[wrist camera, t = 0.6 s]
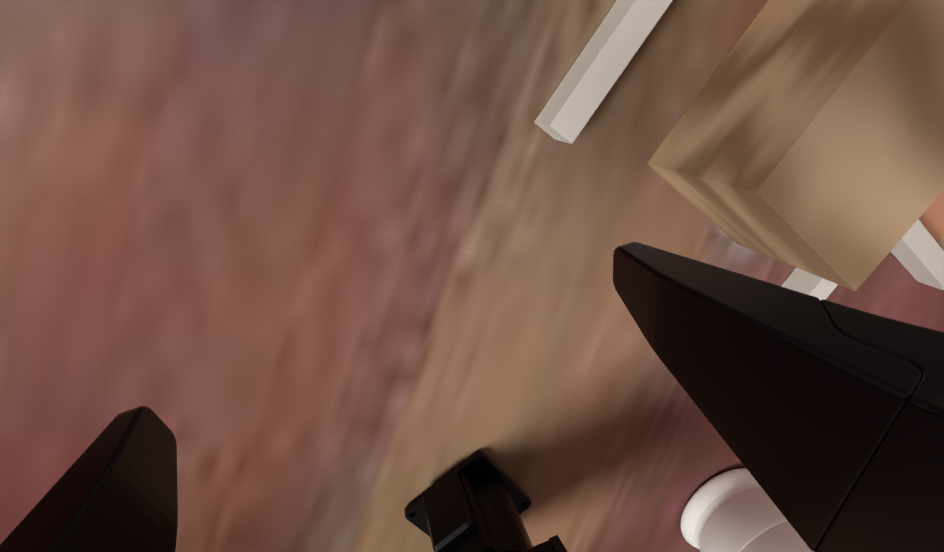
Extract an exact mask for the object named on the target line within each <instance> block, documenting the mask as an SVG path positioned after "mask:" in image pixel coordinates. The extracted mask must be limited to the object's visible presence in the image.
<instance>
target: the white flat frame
mask: <svg viewBox="0 0 944 552" xmlns="http://www.w3.org/2000/svg"><path fill="white" fill-rule="evenodd" d="M672 1H673V0H617V1H616V2H615V4H614V5H613V7H612V8H611V10H610V11H609V12H608V14H607V15H606V17H605V18H604V20H603V21H602V23H601V24H600V26H599V27H598V29H597V30H596V32H595V33H594V35H593V36H592V38H591V39H590V40H589V42H588V43H587V45H586V46H585V48H584V49H583V51H582V52H581V54H580V55H579V57H578V58H577V60H576V61H575V63H574V64H573V65H572V67H571V68H570V70H569V71H568V73H567V74H566V76H565V77H564V79H563V80H562V82H561V83H560V85H559V86H558V88H557V89H556V90H555V92H554V93H553V95H552V96H551V98H550V99H549V101H548V102H547V104H546V105H545V107H544V108H543V110H542V111H541V113H540V114H539V116H538V117H537V118H536V120H535V121H534V123H535V124H537V125H538V126H539V127H540V128H541V129H543V130H544V131H545V132H546V133H548V134H549V135H550V136H551V137H553V138H554V139H555V140H559V141H562V142H566V143H570V144H572V143H573V142H574V140H575V139H576V138H577V136H578V135H579V133H580V132H581V130H582V129H583V128H584V126H585V125H586V123H587V122H588V120H589V119H590V118H591V116H592V115H593V113H594V112H595V110H596V109H597V108H598V106H599V105H600V103H601V102H602V100H603V99H604V98H605V96H606V95H607V93H608V92H609V90H610V89H611V88H612V86H613V85H614V83H615V82H616V80H617V79H618V78H619V76H620V75H621V73H622V72H623V70H624V69H625V68H626V66H627V65H628V63H629V62H630V60H631V59H632V58H633V56H634V55H635V53H636V52H637V50H638V49H639V48H640V46H641V45H642V43H643V42H644V41H645V39H646V38H647V36H648V35H649V33H650V32H651V31H652V29H653V28H654V26H655V25H656V23H657V22H658V21H659V19H660V18H661V16H662V15H663V13H664V12H665V11H666V9H667V8H668V6H669V5H670V3H671V2H672ZM891 253H892V254H893V255H894V256H895V257H896V258H897V259H898V260H899V262H900V263H901V264H902V265H903V266H904V267H905V268H906V269H907V270H908V272H909V273H910V274H911V275H912V276H913V277H914V278H915V279H916V281H918V282H921V283H924V284H926V285H929V286H932V287H935V288H938V289H941V290H944V190H943V191H942V192H941V194H940V195H939V196H938V197H937V198H936V199H935V200H934V202H933V203H932V204H931V205H930V206H929V207H928V208H927V210H926V211H925V212H924V213H923V214H922V215H921V217H920V218H919V219H918V220H917V221H916V222H915V223H914V225H913V226H912V227H911V228H910V229H909V230H908V231H907V233H906V234H905V235H904V236H903V237H902V238H901V239H900V241H899V242H898V243H897V244H896V245H895V246H894V247H893V249H892V250H891ZM837 285H838V284H836V283H833V282H831V281H828V280H826V279H823V278H821V277H819V276H816V275H814V274H811V273H809V272H806V271H804V270H801V269H799V268H796V269H795V270H794V271H793V272H792V273H791V275H790V276H789V277H788V278H787V279H786V281H785V282H784V283H783V284H782V285H781V287H785V288H788V289H791V290H794V291H798V292H801V293H804V294H807V295H811V296H814V297H817V298H819V300H822V299H824V300H825V299H826V298H827V297H828V296H829V295H830V293H831V292H832V291H833V290H834V289H835V288H836V286H837Z"/></svg>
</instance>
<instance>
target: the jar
mask: <svg viewBox="0 0 944 552" xmlns="http://www.w3.org/2000/svg"><path fill="white" fill-rule="evenodd" d="M681 532H682V534H683V536H684V538H685V539H686V541H687V542H688V543H690V544H691V545H692V546H694V547H696V548H698V549H700V552H814V551H811V550H810V548H809V547H808V546H807V545H806V543H805V542H804V541H803V539H802V538H801V537H800V536H799V534H798V533H797V532H796V531H795V529H794V528H793V527H792V526H791V524H790V523H789V522H788V520H787V519H786V518H785V517H784V515H783V514H782V513H781V512H780V510H779V509H778V508H777V507H776V505H775V504H774V503H773V501H772V500H771V499H770V498H769V496H768V495H767V494H766V493H765V491H764V490H763V489H762V487H761V486H760V485H759V484H758V482H757V481H756V480H755V479H754V477H753V476H752V475H751V474H750V472H749V471H748V470H747V469H745V468H742V469H734V470H730V471H727V472H724V473H722V474H720V475H717V476H716V477H714V478H712V479H711V480H709V481H708V482H706V483H705V484H704V485H703V486H701V487H700V488H699V489H698V490H697V491H696V492H695V493H694V495H693V496H692V497H691V498H690V500H689V501H688V503H687V505H686V507H685V508H684V511H683V514H682V517H681Z"/></svg>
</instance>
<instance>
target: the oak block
mask: <svg viewBox="0 0 944 552" xmlns="http://www.w3.org/2000/svg"><path fill="white" fill-rule="evenodd" d="M647 164H648V165H649V166H650V167H651V168H653V169H654V170H655V171H656V172H657V173H658V174H659V175H660V176H662V177H663V178H664V179H665V180H666V181H667V182H668V183H669V184H671V185H672V186H673V187H674V188H675V189H676V190H677V191H678V192H680V193H681V194H682V195H683V196H684V197H685V198H686V199H687V200H689V201H690V202H691V203H692V204H693V205H694V206H695V207H696V208H698V209H699V210H700V211H701V212H702V213H703V214H704V215H705V216H707V217H708V218H709V219H710V220H711V221H712V222H713V223H714V224H716V225H717V226H718V227H719V228H720V229H721V230H722V231H723V232H725V233H726V234H727V235H728V236H729V237H730V238H731V239H732V240H734V241H735V242H736V243H737V244H740V245H742V246H745V247H747V248H749V249H752V250H754V251H757V252H759V253H762V254H764V255H767V256H769V257H772V258H774V259H777V260H779V261H782V262H784V263H786V264H789V265H791V266H794V267H796V268H799V269H801V270H804V271H806V272H809V273H811V274H814V275H816V276H819V277H821V278H823V279H826V280H828V281H831V282H833V283H836V284H838V285H841V286H843V287H846V288H848V289H851V290H853V291H856V290H857V289H858V288H859V287H860V285H861V284H862V283H863V282H864V281H865V280H866V278H867V277H868V276H869V275H870V274H871V273H872V272H873V270H874V269H875V268H876V267H877V266H878V265H879V264H880V262H881V261H882V260H883V259H884V258H885V257H886V256H887V254H888V253H889V252H890V251H891V250H892V249H893V247H894V246H895V245H896V244H897V243H898V242H899V241H900V239H901V238H902V237H903V236H904V235H905V234H906V233H907V231H908V230H909V229H910V228H911V227H912V226H913V225H914V223H915V222H916V221H917V220H918V219H919V218H920V217H921V215H922V214H923V213H924V212H925V211H926V210H927V208H928V207H929V206H930V205H931V204H932V203H933V202H934V200H935V199H936V198H937V197H938V196H939V195H940V194H941V192H942V191H943V190H944V0H768V1H767V3H766V4H765V5H764V7H763V8H762V9H761V11H760V12H759V13H758V15H757V16H756V17H755V19H754V20H753V22H752V23H751V24H750V26H749V27H748V28H747V30H746V31H745V32H744V34H743V35H742V36H741V38H740V39H739V40H738V42H737V43H736V44H735V46H734V47H733V48H732V50H731V51H730V52H729V54H728V55H727V56H726V58H725V59H724V60H723V62H722V63H721V65H720V66H719V67H718V69H717V70H716V71H715V73H714V74H713V75H712V77H711V78H710V79H709V81H708V82H707V83H706V85H705V86H704V87H703V89H702V90H701V91H700V93H699V94H698V95H697V97H696V98H695V99H694V101H693V102H692V103H691V105H690V106H689V107H688V109H687V110H686V112H685V113H684V114H683V116H682V117H681V118H680V120H679V121H678V122H677V124H676V125H675V126H674V128H673V129H672V130H671V132H670V133H669V134H668V136H667V137H666V138H665V140H664V141H663V142H662V144H661V145H660V146H659V148H658V149H657V150H656V152H655V153H654V154H653V156H652V157H651V159H650V160H649V161H648V163H647Z"/></svg>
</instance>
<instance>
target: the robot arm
mask: <svg viewBox="0 0 944 552" xmlns="http://www.w3.org/2000/svg"><path fill="white" fill-rule="evenodd" d="M613 283H614V286H615V289H616V291H617V293H618V294H619V296H620V298H621V299H622V301H623V302H624V304H625V306H626V307H627V309H628V311H629V312H630V314H631V315H632V317H633V319H634V320H635V322H636V323H637V325H638V327H639V328H640V330H641V332H642V333H643V335H644V336H645V338H646V340H647V341H648V343H649V344H650V346H651V347H652V349H653V350H654V351H655V353H656V354H657V355H658V357H659V358H660V359H661V361H662V362H663V363H664V364H665V366H666V367H667V368H668V370H669V371H670V372H671V373H672V375H673V376H674V377H675V378H676V380H677V381H678V382H679V383H680V385H681V386H682V387H683V389H684V390H685V391H686V392H687V394H688V395H689V396H690V397H691V399H692V400H693V401H694V403H695V404H696V405H697V406H698V408H699V409H700V410H701V411H702V413H703V414H704V415H705V416H706V418H707V419H708V420H709V422H710V423H711V424H712V425H713V427H714V428H715V429H716V430H717V432H718V433H719V434H720V435H721V437H722V438H723V439H724V441H725V442H726V443H727V444H728V446H729V447H730V448H731V449H732V451H733V452H734V453H735V455H736V456H737V457H738V458H739V460H740V461H741V462H742V463H743V465H744V466H745V467H746V468H747V470H748V471H749V472H750V474H751V475H752V476H753V477H754V479H755V480H756V481H757V482H758V484H759V485H760V486H761V487H762V489H763V490H764V491H765V493H766V494H767V495H768V496H769V498H770V499H771V500H772V501H773V503H774V504H775V505H776V507H777V508H778V509H779V510H780V512H781V513H782V514H783V515H784V517H785V518H786V519H787V520H788V522H789V523H790V524H791V526H792V527H793V528H794V529H795V531H796V532H797V533H798V534H799V536H800V537H801V538H802V539H803V541H804V542H805V543H806V545H807V546H808V547H809V548H810V550H811V551H814V552H944V332H940V331H936V330H932V329H928V328H924V327H920V326H916V325H912V324H909V323H905V322H901V321H897V320H893V319H889V318H885V317H881V316H878V315H874V314H871V313H868V312H864V311H861V310H857V309H854V308H850V307H847V306H844V305H840V304H837V303H834V302H831V301H827V300H824V299H822V300H819V298H817V297H814V296H811V295H807V294H804V293H801V292H798V291H794V290H791V289H788V288H785V287H781V286H778V285H775V284H771V283H768V282H765V281H762V280H758V279H755V278H752V277H749V276H745V275H742V274H739V273H735V272H732V271H729V270H726V269H722V268H719V267H716V266H713V265H709V264H706V263H703V262H700V261H696V260H693V259H690V258H686V257H683V256H680V255H677V254H673V253H670V252H667V251H664V250H660V249H657V248H654V247H651V246H647V245H644V244H641V243H637V242H631V243H628V244H625V245H622V246H619V247H617V248H616V249H615V251H614V255H613ZM479 459H481V460H480V461H477V460H479ZM530 505H531V501H530V498H529V496H528V495H527V494H526V493H525V492H524V491H523V490H522V489H521V488H520V487H519V486H518V485H517V484H515V483H514V482H513V481H512V480H511V479H510V478H509V477H508V476H507V475H506V474H505V473H504V472H503V471H502V470H501V469H500V468H499V467H498V466H497V465H496V464H495V463H494V462H493V461H491V460H490V459H489V458H488V457H487V456H486V455H485V454H484V453H482V452H477V453H475V454H473V455H472V456H471V457H469V458H468V459H467V460H465V461H464V462H463V463H462V464H460V465H459V466H458V467H456V468H455V469H454V470H453V471H451V472H450V473H449V474H447V475H446V476H445V477H444V478H442V479H441V480H440V481H438V482H437V483H436V484H435V485H433V486H432V487H431V488H430V489H428V490H427V491H426V492H424V493H423V494H422V495H421V496H419V497H418V498H417V499H415V500H414V501H413V502H412V503H410V504H409V505H408V506H407V507H406V508H405V510H404V511H405V517H406V519H407V520H409V521H410V522H411V523H413V524H414V525H415V526H417V527H418V528H419V529H421V530H422V531H423V532H425V533H426V534H427V535H429V536H430V537H431V541H432V546H433V550H434V552H567V550H566V549H565V547H564V545H563V544H562V542H561V540H560V539H559V537H558V535H556V536H553V537H551V538H549V540H548V541H546V542H544V543H541V544H539V545H536V546H534V547H533V546H532V543H531V541H530V538H529V536H528V534H527V531H526V529H525V527H524V524H523V522H522V520H521V517H520V515H519V514H521V513H522V512H523V511H524V510H526V509H527V508H528V507H529V506H530ZM413 511H414V512H413ZM411 512H412V513H411ZM177 523H178V501H177V446H176V439H175V436H174V434H173V433H172V431H171V430H170V429H169V428H168V427H167V426H166V425H165V424H164V422H163V421H162V420H161V419H160V418H159V417H158V416H157V415H156V414H155V413H154V412H153V411H152V410H151V409H150V408H148V407H146V406H141V407H137V408H134V409H131V410H128V411H125V412H123V413H120V414H119V415H117V416H116V417H115V418H114V419H113V421H112V422H111V423H110V424H109V425H108V426H107V427H106V428H105V429H104V431H103V432H102V433H101V434H100V435H99V436H98V437H97V438H96V439H95V440H94V442H93V443H92V444H91V445H90V446H89V447H88V448H87V449H86V450H85V452H84V453H83V454H82V455H81V456H80V457H79V458H78V459H77V460H76V461H75V463H74V464H73V465H72V466H71V467H70V468H69V469H68V470H67V471H66V473H65V474H64V475H63V476H62V477H61V478H60V479H59V480H58V481H57V482H56V484H55V485H54V486H53V487H52V488H51V489H50V490H49V491H48V492H47V494H46V495H45V496H44V497H43V498H42V499H41V500H40V501H39V502H38V503H37V505H36V506H35V507H34V508H33V509H32V510H31V511H30V512H29V513H28V515H27V516H26V517H25V518H24V519H23V520H22V521H21V522H20V523H19V524H18V526H17V527H16V528H15V529H14V530H13V531H12V532H11V533H10V534H9V536H8V537H7V538H6V539H5V540H4V541H3V542H2V543H1V544H0V552H175V548H176V538H177Z"/></svg>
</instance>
